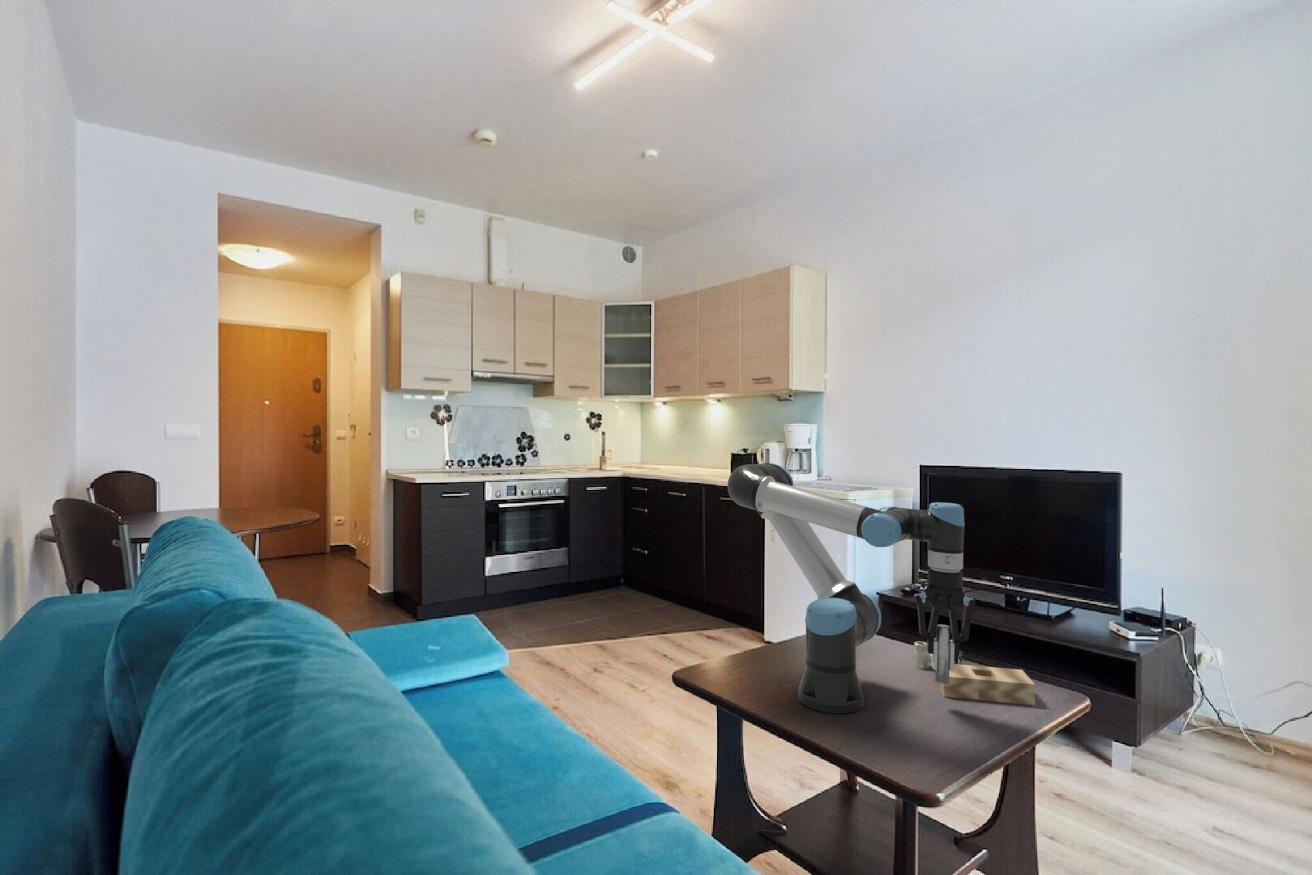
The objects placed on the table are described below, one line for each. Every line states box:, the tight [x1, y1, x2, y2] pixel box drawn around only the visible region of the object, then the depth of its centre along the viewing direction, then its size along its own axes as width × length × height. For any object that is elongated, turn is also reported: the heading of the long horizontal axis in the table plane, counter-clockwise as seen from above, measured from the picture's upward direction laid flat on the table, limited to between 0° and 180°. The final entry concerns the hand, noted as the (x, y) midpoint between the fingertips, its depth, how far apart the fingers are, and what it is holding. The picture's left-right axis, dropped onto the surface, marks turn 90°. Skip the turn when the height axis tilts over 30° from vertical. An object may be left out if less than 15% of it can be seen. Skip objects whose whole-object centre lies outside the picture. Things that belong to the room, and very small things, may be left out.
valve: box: [912, 640, 963, 670], centre depth 174 cm, size 7×7×12 cm
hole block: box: [936, 664, 1036, 706], centre depth 158 cm, size 20×10×5 cm, turn 75°
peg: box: [934, 624, 951, 684], centre depth 149 cm, size 3×3×13 cm
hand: (942, 668), depth 149 cm, fingers closed on peg, 3 cm apart
